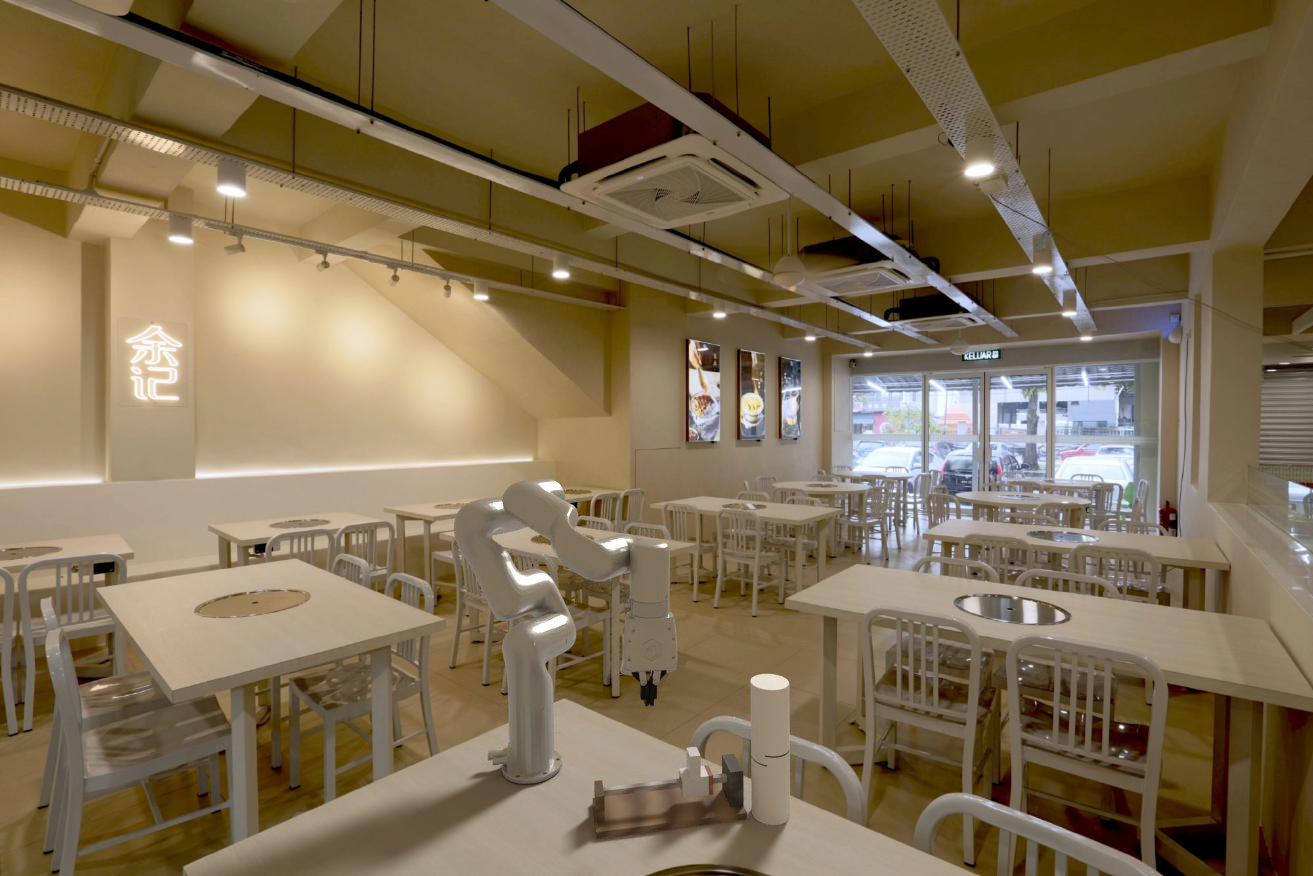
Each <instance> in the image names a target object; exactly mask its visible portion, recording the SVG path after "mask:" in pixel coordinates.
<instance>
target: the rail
mask: <svg viewBox="0 0 1313 876" xmlns="http://www.w3.org/2000/svg"><path fill="white" fill-rule="evenodd" d="M703 766H704V767H705V769H706V771H707V773H708V776H709V795H705V796H696V797H688V798H683V796H682V793H681V791H680V788H682V779H679V778H675V779H673V778H672V779H665V780H656V781H649V782H639V783H629V784H622V785H621V784H620V785H614V786H613V785H612V786H605V787H604V783H603V779H602V780H601V779H600V780H594V781H593V785H594V790H593V792H594V797H592V811H593V819H594V829H595V830H594V831H595V838H596V839H597V840H598V839H605V838H615V837H619V836H620V837H621V836H627V835H628V836H629V835H637V834H643V833H651V832H659V831H667V830H673V829H674V830H675V829H683V828H690V827H699V826H706V825H713V824H721V823H729V822H730V823H731V822H737V821H745V820H748V812H747V810H746V808H745V805H744V799H745V798H744V795H745V793H744V792H745V791H744V785H745V784H744V781H745V780H744V769H743V768H742V765H741V764H740V762H739V760H738V759H737V757H736V755H735V753H729V754H728V753H727V754H722V755H721V773H718V774H717V773H716V774H713V772H712V770H711V768H710V766H709V765H708V764H707V765H703Z"/></svg>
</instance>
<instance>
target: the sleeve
mask: <svg viewBox="0 0 1313 876" xmlns="http://www.w3.org/2000/svg"><path fill="white" fill-rule="evenodd" d="M704 766H705V765H701V754H700V751H699V749H698V747H697V746H691V747H686V767H680V768H678V779H682V788H680V791H681V793H682V796H683V798H688V797H696V796H705V795H709V776H708V773H707V771H706V769H705V767H704Z"/></svg>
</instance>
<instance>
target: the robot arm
mask: <svg viewBox="0 0 1313 876" xmlns="http://www.w3.org/2000/svg"><path fill="white" fill-rule="evenodd" d="M578 521H579V512H578V510H577V508H576V507H575V505H573V504H571V503H570V502H568V501H566V493H565V490H564V488H563V486H561V484H560V483H559V482H558V481H556V480H554V479H552V478H548V477H547V478H546V477H545V478H535V479H527V480H520V481H516V482H515V483H511V485H509V486H508V487H507V488H506V489H505V491H504V493H503V495H501V496H495V497H494V496H493V497H487V498H481V499H480V498H479V499H476V500H473V501H470V502H467V503H466V504H465V505H463V506H461V508H459V510H458V511H457V513H456V515H455V518H454V522H453V534H454V540H455V542H456V545H457V548H458V549H459V551H460V552H461V555H462V556H463V558H464V559H465V561H466V562H467V564H468V565H469V566H470V568H471V570H472V572H473V574H474V575H475V579H476V580H477V582H478V584H479V587H480V588H481V591H482V594H483V596H484V598H485V600H486V603H487V604H488V607H489V609H490V610H491V612H492V614H493V615H494V617H495V618H496V619H497V620H499V621H501V622H509V621H514V620H517V619H520V618H523V617H524V616H527V615H530V614H531V615H532V616H533V618H530V619H527V620H524V621H522V622H519V623H518V624H516V625H515V626H513V627H511V628H510V629H509V630H508V631H507V632H506V634H505V636H504V637H503V639H502V645H501V651H502V656H503V661H504V665H505V670H506V679H507V681H506V682H507V700H508V701H507V702H508V703H507V707H508V708H507V709H508V744H507V747H503V749H499V750H497V749H493V750H488V752H487V761H488V762H489V761H490V762H491V761H492V766H498V765H502V766H501V771H502V775H503V777H504V778H505V779H506V780H508V781H510V782H511V783H516V784H519V785H520V784H521V785H529V784H537V783H541V782H544V781H546V780H549V779H551V778H552V777H554V776H555V775H557V773H558V772H559V771H560V770H561V767H562V762H563V761H562V756H561V754H560V753H559V752H558V751H557V750H556V749H555V722H554V720H555V715H554V714H555V713H554V712H555V711H554V709H555V708H554V706H555V705H554V683H553V679H552V677H551V675H550V673H549V671H548V670H547V667H546V663H547V662H549V661H550V660H552V659H554V658H556V657H558V656H560V655H561V654H563V653H565V652H567V651H568V650H570V649H571V648H572V647H573V645H574V644H575V642H576V638H577V628H576V625H575V621H574V619H573V616H572V614H571V613H570V610H569V609H568V607H567V605H566V603H565V600H564V598H563V597H562V594H561V592H560V590H559V588H558V586H557V584H556V583H555V581H554V579H553V578H552V577H551V575H549V574H548V572H546V571H544V570H542V569H540V568H529V569H526V570H522V571H519V570H518V568H517V567H516V565H515V563H514V561H513V559H512V556H511V555H510V553H509V552H508V551H507V549H506V548H505V547H503V546H502V544H500V543H498V542H497V541H496V540H494V539H493V537H494V536H497V535H498V536H499V535H502V534H507V533H512V532H516V531H519V530H522V529H526V528H529V529H530V530H532V531H534V532H535V533H536V534H539V535H540V536H542V537H543V538H545V539H547V540H548V541H549V542H550V545H551V549H552V551H553V553H554V554H555V556H556V558H557V559H558V561H559V562H560V563H561V564H562V565H563V566H565V568H567V569H569V570H570V571H572V572H574V573H575V574H577V575H579V576H580V577H582V578H584V579H587V580H588V581H592V582H599V583H600V582H604V581H607V580H610V579H613V578H616V577H618V576H621V575H625V574H628V573H629V596H628V599H627V600H626V601H622V602H621V609H622V610H627V611H628V612H627V613H626V614H625V618H624V623H623V631H622V641H621V642H622V643H621V664H620V668H619V669H620V674H621V675H625V676H631V677H633V678H634V679H635V680H636V681H637V682H638V683H639V686H640V687H639V697H640V700H641V701H643V703H644V705H645V707H649V706H651V707H654V706H655V700H657V699H658V685H659V684H660V681H661V680H662V679H663V678H664V676H666V675H667V674H670V673H673V672H676V671H677V670H678V666H677V665H678V641H677V638H678V637H677V628H676V627H677V626H676V619H675V617H674V613H673V612H672V611H670V607H671V606H670V600H671V599H670V588H671V586H670V585H671V584H670V583H671V549H670V548H671V547H670V546H669V544H668V543H667V542H665V541H663V540H658V539H644V538H642V537H639V536H636V535H633V534H630V533H619V534H616V535H612V536H611V535H610V536H607V537H604V538H601V539H600V538H599V539H598V540H594V539H591V538H589V537H588V536H586V535H584V534H582V533H581V532H579V531H578V530H577V529H576V527H577V524H578ZM646 672H650V677H649V678H647V675H646Z"/></svg>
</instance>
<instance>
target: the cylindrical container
mask: <svg viewBox="0 0 1313 876" xmlns="http://www.w3.org/2000/svg"><path fill="white" fill-rule="evenodd" d="M790 734H791V733H790V681H789V680H788V679H787V678H786V677H784V676H782V675H778V674H775V673H774V674H772V673H761V674H756V675H754V676H753V677H751V678H750V751H751V752H750V758H751V759H750V760H751V761H750V765H751V766H750V768H751V769H750V770H751V771H750V773H751V775H750V776H751V814H752V816H753V818H754V819H756V820H757V821H758V822H760V823H762V824H765V825H768V826H779V825H783V824H786V823H787V822H788V821H789V820H790V818H791V770H790V769H791V759H790V757H791V753H790V752H791V750H790V746H791V743H790Z"/></svg>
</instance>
